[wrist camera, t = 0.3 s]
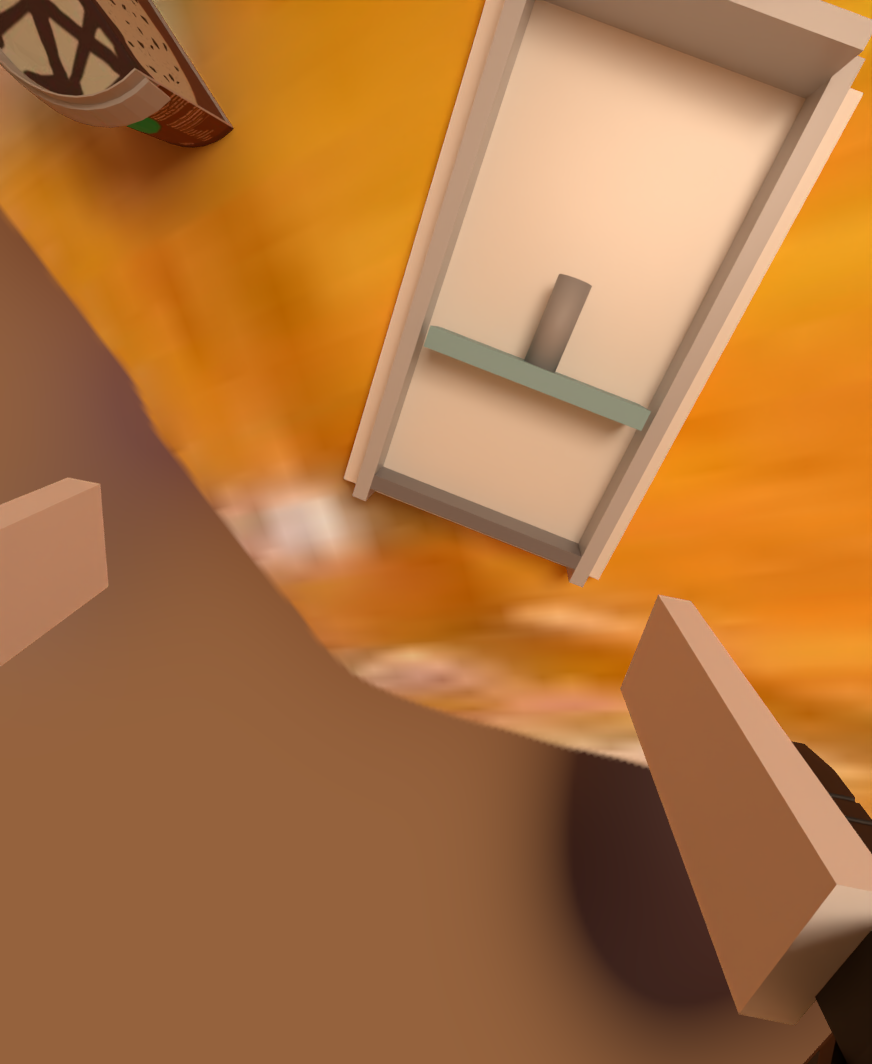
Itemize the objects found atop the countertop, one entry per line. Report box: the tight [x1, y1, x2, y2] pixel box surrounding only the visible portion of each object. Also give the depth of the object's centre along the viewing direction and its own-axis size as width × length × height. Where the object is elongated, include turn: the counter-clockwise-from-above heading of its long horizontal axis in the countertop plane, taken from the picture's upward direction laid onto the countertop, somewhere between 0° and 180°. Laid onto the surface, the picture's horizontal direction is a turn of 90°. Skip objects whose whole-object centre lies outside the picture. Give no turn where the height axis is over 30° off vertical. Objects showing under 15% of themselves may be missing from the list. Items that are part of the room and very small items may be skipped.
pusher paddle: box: [424, 274, 651, 431], centre depth 31 cm, size 6×14×4 cm, turn 70°
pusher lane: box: [344, 0, 872, 587], centre depth 31 cm, size 30×20×6 cm, turn 160°
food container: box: [0, 0, 234, 147], centre depth 29 cm, size 12×6×10 cm, turn 33°
